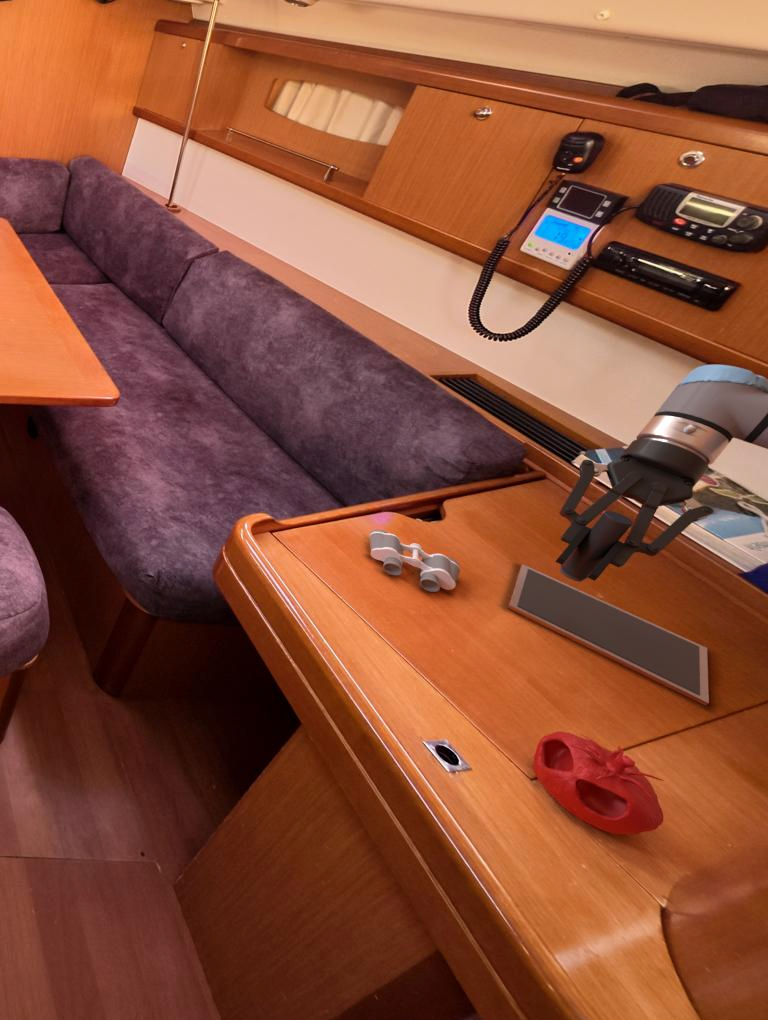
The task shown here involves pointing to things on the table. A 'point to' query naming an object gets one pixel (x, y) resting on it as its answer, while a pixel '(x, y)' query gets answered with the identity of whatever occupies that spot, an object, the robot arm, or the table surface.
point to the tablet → (613, 633)
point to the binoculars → (414, 561)
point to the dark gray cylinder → (595, 545)
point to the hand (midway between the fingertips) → (576, 568)
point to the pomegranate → (597, 784)
